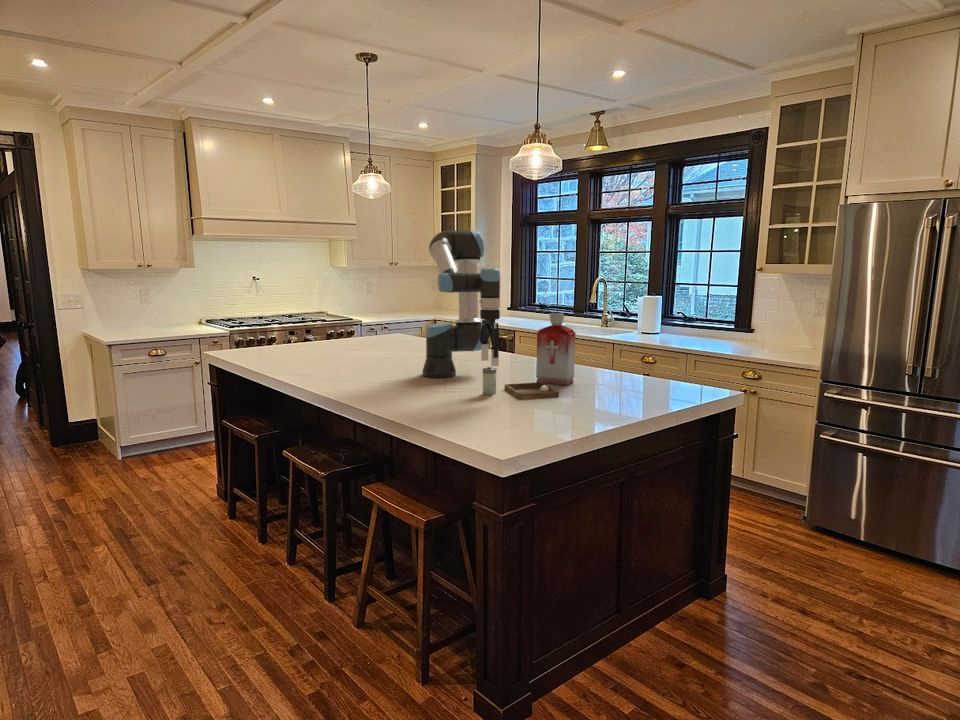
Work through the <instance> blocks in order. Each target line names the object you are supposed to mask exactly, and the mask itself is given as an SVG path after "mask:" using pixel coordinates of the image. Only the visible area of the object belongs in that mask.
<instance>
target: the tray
mask: <svg viewBox="0 0 960 720" xmlns="http://www.w3.org/2000/svg"><path fill="white" fill-rule="evenodd" d="M543 385H545V386H547V387H548V388H549V392H540V387H541V386H543ZM504 390H505V391H507V392H508V393H509V394H510V395H512V396H514V397H515V398H516V399H518V400H529V399H530V400H533V399H547V398H548V399H549V398H559V395H560V394H559V393H560V392H559V391H558V390H556V389H554V388H553V387H551V386H549V385H548V384H546V383H542V382H523V383H521V382H520V383H508V384H507V383H505V384H504Z"/></svg>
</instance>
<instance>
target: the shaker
mask: <svg viewBox="0 0 960 720" xmlns="http://www.w3.org/2000/svg"><path fill="white" fill-rule="evenodd" d="M496 394H497V368H496V367H493V366H487V367H484V368H482V395H483V396H487V397H488V396H489V397H492V396H493V395H496Z"/></svg>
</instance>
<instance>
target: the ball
mask: <svg viewBox="0 0 960 720" xmlns="http://www.w3.org/2000/svg"><path fill="white" fill-rule="evenodd" d="M547 386H548V385H547ZM547 386H545V385H543V386H541V387H540V392H549V388H548V387H547Z"/></svg>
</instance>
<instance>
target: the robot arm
mask: <svg viewBox="0 0 960 720" xmlns="http://www.w3.org/2000/svg"><path fill="white" fill-rule="evenodd" d="M428 249H429V250H428V251H429V254H430V256H431V258H432V259H433V260H434V261H435V264H436V267H437V270H438V272H439V274H438V276H437V288H438V291H439V292H440V293H447V294H449V293H458V319H456V320H455V325H453V324H452V322H439V323H434V324H430V325H429V326H428V325H427V327H426V331H425V345H426V346H425V349H426V351H425V355H426V356H425V358H426V359H425V362H424V365H423V368H422V376H423V377H425V378H432V379H445V378H452V377H455V376H456V375H457V369H456V366H455V364H454V360H453V352H455V353H456V352H459V353H460V352H476V351H477V352H479V351H481V353H480V354H481V359H480V360H481V361H485V362H486V361H489V344H490V343H491V347H490V351H491V352H490V353H491V354H490V357H491V362H490V364H491V365H490V367H499V364H500V363H499V361H500V360H499V359H500V356H499V355H500V354H499V353H500V352H499V351H500V349H501V348H502V345H501V339H500V332H499V331H500V330H499V322H496V320H499V319H500V318H501V317H500V315H501V314H500V313H501V310H500V308H501V297H500V296H501V273H500V271H501V270H500V269H499V268H487V267H486V268H481V269H480V272H478V264H479V263H480V262H481V258H483V257H484V255H485V243H484V239H483V236H482V233H480V232H479V231H477V230H476V231H475V230H444V231H441V232H439V233H437V234H436V235H435V236H434V237H432V238H431V240H430V243H429V246H428ZM479 293H480V295H478V294H479ZM478 296H480V297H479V298H480V300H478V299H479V298H478ZM478 303H479V304H480V313H479V309H478V308H479V304H478ZM479 314H480V315H479ZM479 316H480V318H479ZM489 340H490V342H489Z"/></svg>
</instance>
